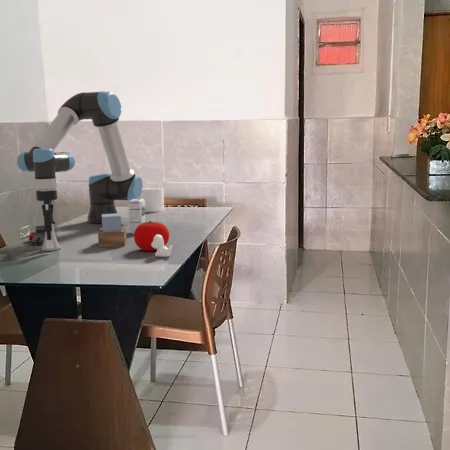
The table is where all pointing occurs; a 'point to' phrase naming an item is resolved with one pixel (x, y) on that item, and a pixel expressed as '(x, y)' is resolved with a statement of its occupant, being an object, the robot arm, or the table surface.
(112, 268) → the table surface
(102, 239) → the base block
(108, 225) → the blue brick
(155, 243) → the figurine
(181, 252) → the table surface
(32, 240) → the toy
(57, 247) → the flask
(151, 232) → the tomato
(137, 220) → the syrup box
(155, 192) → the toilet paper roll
